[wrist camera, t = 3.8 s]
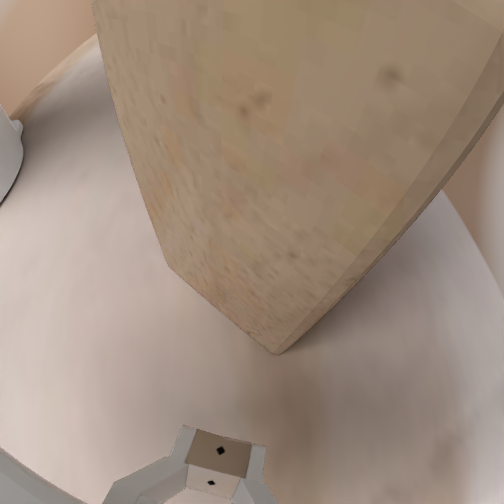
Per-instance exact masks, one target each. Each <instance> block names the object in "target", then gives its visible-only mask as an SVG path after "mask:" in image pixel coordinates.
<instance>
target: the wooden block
mask: <svg viewBox="0 0 504 504" xmlns="http://www.w3.org/2000/svg"><path fill="white" fill-rule="evenodd" d="M91 3H92V8H93V14H94V20H95V25H96V30H97V35H98V40H99V44H100V49H101V54H102V58H103V62H104V67H105V71H106V75H107V79H108V83H109V87H110V91H111V95H112V98H113V102H114V106H115V110H116V113H117V117H118V120H119V124H120V127H121V131H122V134H123V138H124V141H125V144H126V147H127V151H128V154H129V157H130V160H131V163H132V167H133V170H134V173H135V176H136V179H137V182H138V185H139V188H140V191H141V194H142V197H143V200H144V202H145V205H146V208H147V211H148V214H149V216H150V219H151V222H152V225H153V227H154V230H155V233H156V236H157V238H158V241H159V243H160V246H161V249H162V251H163V254H164V256H165V259H166V261H167V264H168V266H169V267H170V268H171V269H172V270H173V271H174V272H176V273H177V274H178V275H179V276H180V277H181V278H182V279H183V280H185V281H186V282H187V283H188V284H189V285H190V286H191V287H192V288H194V289H195V290H196V291H197V292H198V293H199V294H201V295H202V296H203V297H204V298H205V299H206V300H207V301H209V302H210V303H211V304H212V305H213V306H214V307H216V308H217V309H218V310H219V311H220V312H222V313H223V314H224V315H225V316H226V317H228V318H229V319H230V320H231V321H232V322H234V323H235V324H236V325H237V326H238V327H240V328H241V329H242V330H243V331H244V332H246V333H247V334H248V335H249V336H251V337H252V338H253V339H254V340H256V341H257V342H258V343H259V344H261V345H262V346H263V347H264V348H266V349H267V350H268V351H269V352H271V353H272V354H275V355H280V354H282V353H284V352H285V351H286V350H287V349H288V348H289V347H290V346H291V345H293V344H294V343H295V342H296V341H297V340H298V339H299V338H300V337H301V336H303V335H304V334H305V333H306V332H307V331H308V330H309V329H310V328H311V327H312V326H313V325H315V324H316V323H317V322H318V321H319V320H320V319H321V318H322V317H323V316H324V315H325V314H326V313H327V312H328V311H329V310H330V309H331V308H332V307H334V306H335V305H336V304H337V303H338V302H339V301H340V300H341V299H342V298H343V297H344V296H345V295H346V294H347V293H348V292H349V291H350V290H351V289H352V288H353V287H354V286H355V285H356V284H357V283H358V282H359V281H360V280H361V279H362V278H363V277H364V276H365V275H366V274H367V273H368V271H369V270H370V269H371V268H372V267H373V266H374V265H375V264H376V263H377V262H378V261H379V260H380V259H381V258H382V257H383V256H384V255H385V253H386V252H387V251H388V250H389V249H390V248H391V247H392V246H393V245H394V244H395V243H396V241H397V240H398V239H399V238H400V237H401V236H402V235H403V234H404V233H405V231H406V230H407V229H408V228H409V227H410V226H411V225H412V223H413V222H414V221H415V220H416V219H417V218H418V217H419V215H420V214H421V213H422V212H423V211H424V209H425V208H426V207H427V206H428V205H429V204H430V202H431V201H432V200H433V199H434V197H435V196H436V195H437V194H438V193H439V191H440V190H441V189H442V188H443V186H444V185H445V184H446V183H447V181H448V180H449V179H450V178H451V176H452V175H453V173H454V172H455V171H456V170H457V169H458V167H459V166H460V165H461V163H462V162H463V161H464V159H465V158H466V156H467V155H468V154H469V153H470V151H471V150H472V149H473V147H474V146H475V144H476V143H477V141H478V140H479V139H480V137H481V136H482V135H483V133H484V132H485V130H486V129H487V128H488V126H489V125H490V123H491V122H492V120H493V119H494V117H495V116H496V114H497V113H498V111H499V110H500V108H501V107H502V105H503V103H504V0H91Z"/></svg>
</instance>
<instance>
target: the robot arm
mask: <svg viewBox="0 0 504 504" xmlns="http://www.w3.org/2000/svg"><path fill="white" fill-rule="evenodd" d="M22 131H23V125H22V123H21V122H20V121H19V120H14V121H11V120H10V119H9V117H8V115H7V114H6V112H5V111H4V109H3V107H2V106H1V104H0V202H1V201H2V199H3V198H4V196H5V195H6V194H7V192H8V190H9V189H10V187H11V186H12V184H13V182H14V180H15V178H16V176H17V174H18V172H19V169H20V166H21V163H22V159H23V146H22V143H21V138H20V137H21V134H22ZM265 456H266V446H264V445H259V444H254V443H251V442H246V441H241V440H237V439H232V438H228V437H222V436H219V435H215V434H212V433H209V432H205V431H202V430H199V429H196V428H193V427H190V426H186V425H183V427H182V428H181V430H180V433H179V435H178V437H177V440H176V442H175V444H174V447H173V449H172V451H171V454H170V456H169V458H168V457H163V458H161V459H159V460H158V461H156V462H154V463H152V464H150V465H148V466H146V467H144V468H142V469H140V470H138V471H136V472H134V473H132V474H130V475H128V476H126V477H124V478H122V479H120V480H118V481H116V482H114V483H113V485H112V487H111V489H110V491H109V493H108V494H107V496H106V498H105V500H104V502H103V504H163V503H164V502H166V501H167V500H169V499H170V498H172V497H173V496H175V495H176V494H178V493H179V492H180V491H182V490H183V489H185V487H187V488H190V489H194V490H198V491H202V492H206V493H208V492H209V493H210V494H213V495H217V496H221V497H225V498H229V499H231V501H232V504H278V502H277V500H276V499H275V497H274V495H273V494H272V492H271V491H270V489H269V487H268V485H267V484H266V483H264V482H262V478H263V471H264V463H265ZM0 504H87V503H85V502H83V501H81V500H80V499H78V498H76V497H74V496H72V495H70V494H69V493H67V492H65V491H64V490H62V489H60V488H58V487H57V486H55V485H54V484H52V483H50V482H49V481H47V480H46V479H44V478H42V477H41V476H39V475H38V474H36V473H35V472H34V471H32V470H31V469H29V468H28V467H26V466H25V465H24V464H22V463H21V462H19V461H18V460H17V459H15V458H14V457H13V456H11V455H10V454H9V453H8V452H6V451H5V450H4V449H2V448H1V447H0Z"/></svg>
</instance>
